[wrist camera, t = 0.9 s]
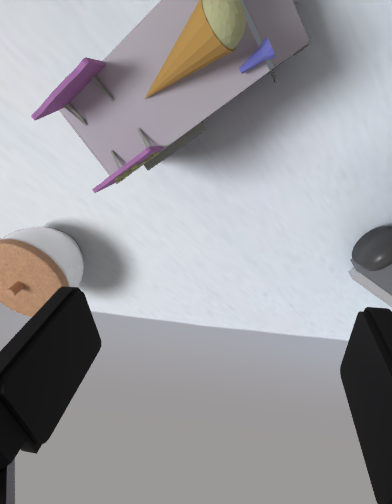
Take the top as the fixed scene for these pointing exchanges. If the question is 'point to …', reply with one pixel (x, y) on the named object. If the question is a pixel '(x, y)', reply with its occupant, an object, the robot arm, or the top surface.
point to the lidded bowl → (37, 267)
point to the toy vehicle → (173, 77)
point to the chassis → (374, 263)
